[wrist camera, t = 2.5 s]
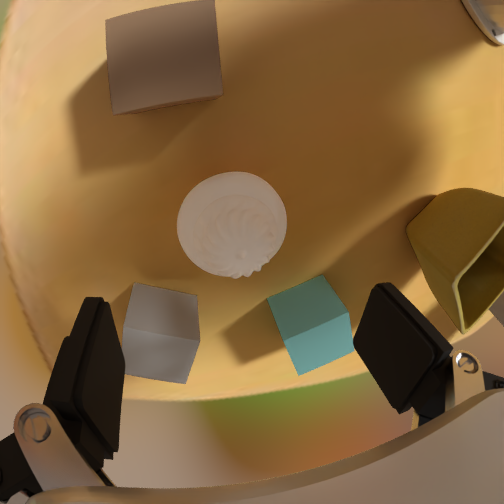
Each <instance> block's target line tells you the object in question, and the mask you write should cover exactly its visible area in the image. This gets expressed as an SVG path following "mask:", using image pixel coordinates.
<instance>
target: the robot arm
mask: <svg viewBox="0 0 504 504" xmlns="http://www.w3.org/2000/svg"><path fill="white" fill-rule="evenodd" d="M462 2H463V4H464V6H465V8H466V9H467V11H468V12H469V14H470V16H471V17H472V19H473V20H474V21H475V23H476V24H477V26H478V27H479V28H480V29H481V30H482V32H483V33H484V34H485V35H486V36H487V37H488V38H489V39H490V40H492V41H493V42H494V43H496V44H499V45H504V0H462ZM353 346H354V348H355V350H356V351H357V353H358V354H359V356H360V357H361V359H362V360H363V362H364V363H365V365H366V366H367V368H368V370H369V371H370V373H371V374H372V376H373V377H374V379H375V380H376V382H377V384H378V385H379V387H380V388H381V390H382V392H383V393H384V395H385V396H386V398H387V400H388V401H389V403H390V404H391V406H392V407H393V408H395V409H396V410H397V412H398V413H399V414H401V413H403V412H406V411H408V410H409V409H410V408H411V407H413V408H414V413H413V421H412V428H411V431H410V432H408V433H406V434H404V435H402V436H399V437H397V438H395V439H393V440H391V441H388V442H386V443H384V444H382V445H379V446H377V447H374V448H372V449H369V450H367V451H365V452H362V453H359V454H357V455H354V456H351V457H348V458H345V459H342V460H340V461H336V462H333V463H330V464H327V465H324V466H320V467H317V468H313V469H310V470H306V471H302V472H298V473H294V474H289V475H285V476H281V477H275V478H270V479H265V480H260V481H254V482H247V483H240V484H233V485H223V486H212V487H199V488H198V487H197V488H176V489H175V488H170V489H159V488H156V489H155V488H127V487H126V488H125V487H117V486H116V485H115V484H114V483H113V482H112V480H111V479H110V478H109V477H108V476H107V474H106V473H105V472H104V471H103V469H102V467H103V464H104V459H112V460H113V452H118V448H119V430H120V415H121V403H122V393H123V384H124V375H125V358H124V355H123V352H122V348H121V345H120V342H119V338H118V335H117V331H116V328H115V324H114V320H113V316H112V312H111V308H110V304H109V302H104V299H103V298H102V297H86V298H85V299H84V301H83V304H82V306H81V308H80V311H79V313H78V316H77V318H76V321H75V323H74V326H73V328H72V331H71V334H70V336H67V337H65V338H64V340H63V342H62V345H61V348H60V350H59V353H58V356H57V359H56V362H55V365H54V368H53V371H52V374H51V377H50V381H49V384H48V387H47V390H46V394H45V397H44V401H43V405H42V404H39V403H32V404H29V405H26V406H24V407H23V408H22V409H21V410H20V411H19V412H18V413H17V414H16V417H15V419H14V427H13V429H14V433H13V434H11V435H10V436H8V437H6V438H4V439H3V440H1V441H0V504H504V378H503V377H499V376H496V375H493V374H490V373H487V372H484V371H482V367H481V364H480V362H479V360H478V359H477V358H476V357H475V356H474V355H473V354H472V353H470V352H468V351H465V350H457V351H456V352H455V353H454V354H453V356H452V357H450V356H449V354H450V353H451V351H452V350H453V347H452V346H451V344H450V343H449V342H448V341H447V340H446V339H445V338H444V337H443V336H442V335H441V333H440V332H439V331H438V330H437V329H436V328H435V327H434V326H433V325H432V324H431V323H430V322H429V321H428V320H427V319H426V317H425V316H424V315H423V314H422V313H421V312H420V311H419V310H418V309H417V308H416V307H415V306H414V305H413V304H412V303H411V302H410V301H409V300H408V299H407V298H406V297H405V296H404V295H403V294H402V293H401V292H400V291H399V290H398V289H397V288H396V287H395V286H394V285H393V284H392V283H389V282H388V283H379V284H376V285H375V287H374V288H373V289H372V290H371V293H370V296H369V299H368V302H367V304H366V307H365V310H364V313H363V315H362V318H361V321H360V323H359V326H358V328H357V331H356V333H355V336H354V338H353Z"/></svg>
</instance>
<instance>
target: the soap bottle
mask: <svg viewBox="0 0 504 504" xmlns="http://www.w3.org/2000/svg"><path fill="white" fill-rule="evenodd" d="M489 310H490V311H491V313H492V314H493V315H494V316H495V317H496V318H497V319H498V320H499V322H500V323H501V324H502V325H503V326H504V291H503V292H502V294H501V295H500V296H499V297H498V298H497V300H496V301H495V302H494V303H493V304H492V306H491V307H490V308H489Z"/></svg>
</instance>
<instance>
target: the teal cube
mask: <svg viewBox="0 0 504 504" xmlns="http://www.w3.org/2000/svg"><path fill="white" fill-rule="evenodd" d="M267 300H268V303H269V306H270V308H271V311H272V313H273V316H274V319H275V321H276V324H277V326H278V329H279V332H280V334H281V337H282V339H283V342H284V344H285V346H286V348H287V351H288V353H289V355H290V357H291V360H292V362H293V364H294V366H295V369H296V371H297V373H298V375H302V374H304V373H307V372H309V371H311V370H314V369H316V368H318V367H321V366H323V365H325V364H327V363H330V362H332V361H334V360H336V359H338V358H340V357H343V356H345V355H347V354H349V353H351V352H353V351H354V346H353V338H352V331H351V324H350V317H349V311H348V310H347V309H346V307H345V306H344V304H343V303H342V301H341V300H340V299H339V297H338V296H337V294H336V293H335V291H334V290H333V289H332V287H331V286H330V284H329V283H328V282H327V280H326V279H325V277H324V276H323V275H320V276H318V277H316V278H313V279H311V280H309V281H306V282H304V283H302V284H299V285H297V286H295V287H292V288H290V289H288V290H285V291H283V292H281V293H278V294H276V295H274V296H271V297H269V298H267Z"/></svg>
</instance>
